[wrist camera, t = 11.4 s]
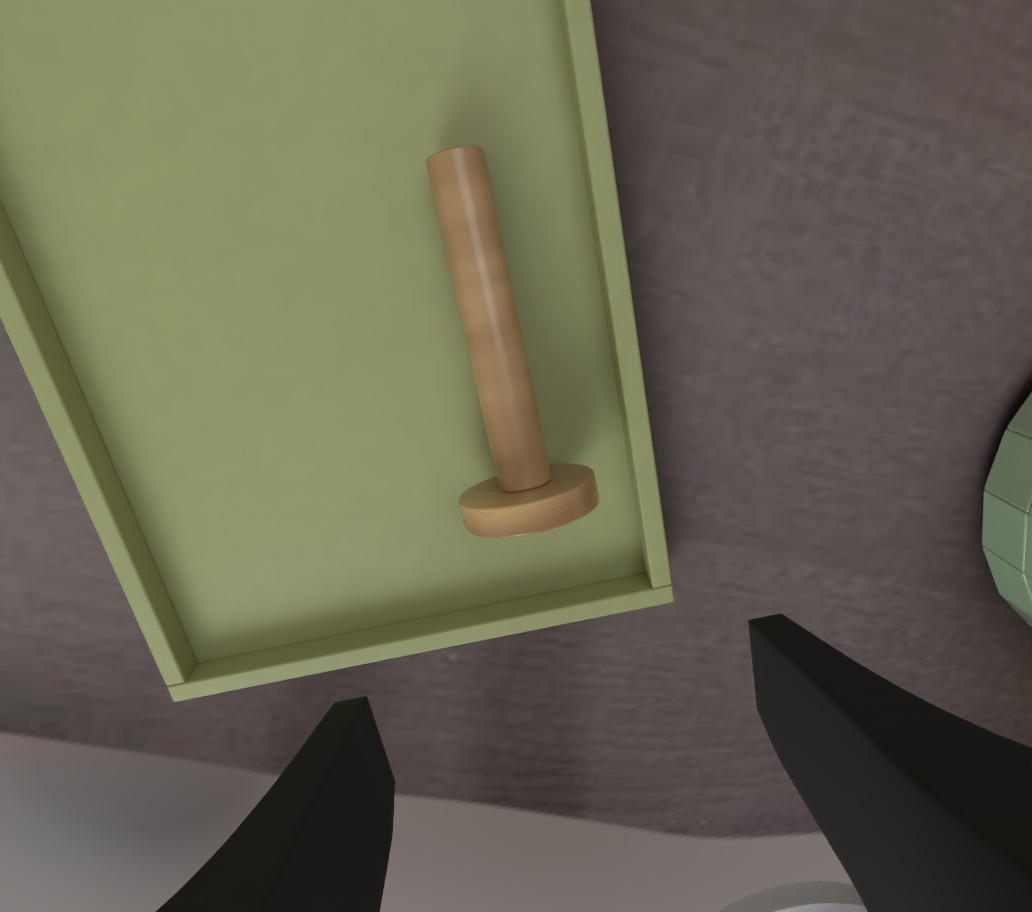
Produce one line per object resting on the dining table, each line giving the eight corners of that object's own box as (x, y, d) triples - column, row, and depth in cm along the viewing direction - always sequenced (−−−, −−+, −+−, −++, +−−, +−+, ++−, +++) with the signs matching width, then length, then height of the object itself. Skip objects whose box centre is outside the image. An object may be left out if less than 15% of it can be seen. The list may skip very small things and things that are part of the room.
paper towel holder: (607, 519, 16) (530, 116, 15) (459, 550, 17) (363, 154, 15) (592, 481, 20) (527, 153, 18) (469, 506, 20) (393, 183, 18)
